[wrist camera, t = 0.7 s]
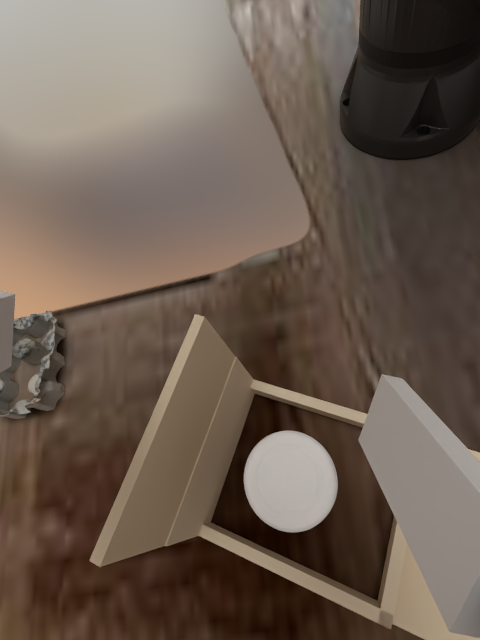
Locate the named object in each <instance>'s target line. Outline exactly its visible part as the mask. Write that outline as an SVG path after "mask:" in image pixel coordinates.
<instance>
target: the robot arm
mask: <svg viewBox="0 0 480 640" xmlns="http://www.w3.org/2000/svg"><path fill="white" fill-rule="evenodd" d="M479 118H480V0H361V1H360V26H359V44H358V48H357V51H356V54H355V57H354V60H353V63H352V66H351V68H350V71H349V74H348V77H347V80H346V83H345V86H344V88H343V91H342V95H341V100H340V125H341V128H342V131H343V133H344V135H345V136H346V138H347V139H348V140H349V141H350V142H351V143H352V144H353V145H355V146H356V147H358V148H359V149H361V150H363V151H365V152H367V153H370V154H373V155H376V156H380V157H386V158H394V159H408V158H418V157H423V156H428V155H432V154H435V153H438V152H441V151H443V150H445V149H448V148H450V147H452V146H453V145H455V144H457V143H458V142H460V141H461V140H462V139H464V138H465V137H466V136H467V135H468V134H469V133H470V132H471V131H472V130H473V129H474V127H475V126H476V124H477V123H478V121H479ZM14 306H15V294H13V293H8V292H4V291H0V373H1V372H3V371H4V370H6V369H8V368H9V367H11V364H12V344H13V325H14ZM359 443H360V445H361V447H362V449H363V451H364V453H365V455H366V457H367V459H368V462H369V464H370V466H371V468H372V470H373V472H374V474H375V476H376V478H377V481H378V483H379V485H380V487H381V489H382V491H383V493H384V495H385V497H386V499H387V502H388V504H389V506H390V508H391V510H392V512H393V514H394V516H395V518H396V521H397V523H398V525H399V527H400V529H401V531H402V533H403V535H404V537H405V540H406V542H407V544H408V546H409V548H410V550H411V552H412V554H413V556H414V558H415V561H416V563H417V565H418V567H419V569H420V571H421V573H422V575H423V577H424V580H425V582H426V584H427V586H428V588H429V590H430V592H431V594H432V596H433V599H434V601H435V603H436V605H437V607H438V609H439V611H440V613H441V615H442V618H443V620H444V622H445V624H446V626H447V628H448V630H449V632H452V633H457V634H462V635H467V636H472V637H477V638H480V461H478V459H477V458H476V457H475V456H474V455H473V454H472V453H471V452H470V451H469V450H468V449H467V448H466V447H465V445H464V444H463V443H462V442H461V441H460V440H459V439H458V438H457V437H456V436H455V435H454V434H453V433H452V431H451V430H450V429H449V428H448V427H447V426H446V425H445V424H444V423H443V422H442V421H441V420H440V419H439V417H438V416H437V415H436V414H435V413H434V412H433V411H432V410H431V409H430V408H429V407H428V406H427V405H426V403H425V402H424V401H423V400H422V399H421V398H420V397H419V396H418V395H417V394H416V393H415V392H414V391H413V389H412V388H411V387H410V386H409V385H408V384H407V383H406V382H405V381H404V380H403V379H402V378H397V377H392V376H388V375H383V374H382V375H381V378H380V380H379V383H378V386H377V389H376V392H375V395H374V397H373V400H372V403H371V406H370V409H369V412H368V414H367V417H366V420H365V423H364V426H363V429H362V431H361V434H360V437H359Z"/></svg>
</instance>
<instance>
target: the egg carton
mask: <svg viewBox="0 0 480 640" xmlns="http://www.w3.org/2000/svg"><path fill="white" fill-rule="evenodd" d="M55 322H56V318H54V317H53V316H52V311H46V313H45V314H40V315H37V314H31V315H30V316H29V317H21V318H18V319H14V325H13V344H12V364H11V367H9V368H8V369H6V370H4V371H3V372H1V373H0V416H4V417H8V418H13V419H21V418H25V417H26V415H27V413H30V412H31V411H30V408H37V409H40V410H45V411H50V410H53V409H55V406H56V403H57V401H58V400H59V399H60V398H61V397H62V396H63V395H64V393H65V386H64V385H62V383H57V381H56V374H57V372H58V371H59V369H60V368H61V367H62V366H64V365H65V360H64V356H62V355H61V354H60V353H57V349H56V348H57V345H58V343H59V342H60V341H61V340H62V339H63V338H65V335H66V331H65V329H63V328H60V327H58V325H57V323H55ZM49 325H53V329H50V331H49V333H47V334H46V335H45V338H44V339H43V340H42V341H41V344H40V343H38V342H36V341H34V340H32V339H22V337H23V334H24V333H27V334H29V335H31V336H33V337H35V338H39V337H41V336H43V335H44V334H45V333H46V332H47V330H48V327H49ZM48 350H49V351H51V353H50V354H48ZM47 354H48V355H47ZM21 360H23V361H26V362H28V363H31V364H33V365H38V364H40V363H42V365H41V367H40V370H39V372H38V373H37V374H36V375H34V376H33V377H32V378H31V379H30V381H29V384H28V390H29V392H30V393H32V394H34V399H33V400H32V401H31V400H25V399H24V400H20V401H19V402H17V403H16V404H15V405H14V407H13V408H11V410H10V411H8V405H9V402H11V401H13V400H14V399H15V398H16V396H17V395H18V392H19V385H18V384H17V383H16V382H14V381H11V373H12V372H14V371H15V370H16V369H17V368H18V367H19V366H20V363H21Z"/></svg>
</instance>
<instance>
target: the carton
mask: <svg viewBox="0 0 480 640" xmlns="http://www.w3.org/2000/svg"><path fill="white" fill-rule="evenodd" d="M255 394H258V395H261V396H264V397H267V398H270V399H274V400H277V401H280V402H283V403H286V404H289V405H292V406H296V407H299V408H302V409H305V410H308V411H311V412H314V413H318V414H321V415H324V416H327V417H330V418H333V419H337V420H340V421H343V422H346V423H349V424H352V425H355V426H359V427H362V428H363V426H364V423H365V420H366V417H367V414H365V413H362V412H359V411H356V410H352V409H349V408H346V407H342V406H339V405H336V404H333V403H329V402H326V401H323V400H319V399H316V398H313V397H310V396H306V395H303V394H300V393H296V392H293V391H290V390H286V389H283V388H280V387H277V386H273V385H270V384H267V383H263V382H260V381H257V380H254V379H253V378H252V377H251V376H250V374H249V373H248V372H247V370H246V369H245V368H244V366H243V365H242V364H241V362H240V361H239V360H238V358H237V357H235V356H234V354H233V353H232V352H231V351H230V349H229V348H228V347H227V345H226V344H225V343H224V341H223V340H222V339H221V337H220V336H219V335H218V333H217V332H216V331H215V330H214V328H213V327H212V326H211V324H210V323H209V322H208V320H207V319H206V318H205V317H204V316H200V315H196V314H195V316H194V318H193V321H192V323H191V325H190V328H189V330H188V332H187V335H186V337H185V339H184V342H183V344H182V346H181V349H180V351H179V353H178V356H177V358H176V360H175V363H174V365H173V367H172V369H171V372H170V374H169V376H168V379H167V381H166V383H165V386H164V388H163V390H162V393H161V395H160V397H159V400H158V402H157V404H156V407H155V409H154V411H153V414H152V416H151V418H150V421H149V423H148V425H147V428H146V430H145V432H144V435H143V437H142V439H141V442H140V444H139V446H138V449H137V451H136V453H135V456H134V458H133V460H132V463H131V465H130V467H129V470H128V472H127V474H126V477H125V479H124V481H123V483H122V486H121V488H120V490H119V493H118V495H117V497H116V500H115V502H114V504H113V507H112V509H111V511H110V514H109V516H108V518H107V521H106V523H105V525H104V528H103V530H102V532H101V535H100V537H99V539H98V542H97V544H96V546H95V549H94V551H93V553H92V556H91V558H90V560H89V561H90V562H92V563H94V564H95V565H97V566H99V567H101V566H104V565H107V564H110V563H113V562H116V561H119V560H123V559H126V558H129V557H132V556H135V555H138V554H141V553H144V552H147V551H150V550H153V549H156V548H159V547H162V546H169V545H172V544H175V543H178V542H181V541H184V540H187V539H190V538H193V537H196V536H200V537H202V538H205V539H207V540H209V541H211V542H213V543H215V544H217V545H219V546H221V547H223V548H225V549H227V550H229V551H231V552H233V553H235V554H237V555H239V556H241V557H243V558H245V559H247V560H249V561H251V562H254V563H256V564H258V565H260V566H262V567H264V568H266V569H268V570H270V571H272V572H274V573H276V574H278V575H280V576H282V577H284V578H286V579H288V580H290V581H292V582H294V583H296V584H298V585H301V586H303V587H305V588H307V589H309V590H311V591H313V592H315V593H317V594H319V595H321V596H323V597H325V598H327V599H329V600H331V601H333V602H335V603H337V604H339V605H341V606H343V607H345V608H348V609H350V610H352V611H354V612H356V613H358V614H360V615H362V616H364V617H366V618H368V619H370V620H372V621H374V622H376V623H378V624H380V625H382V626H384V627H386V628H388V629H390V630H391V627H392V624H394V625H396V626H398V627H400V628H402V629H404V630H406V631H408V632H410V633H412V634H414V635H416V636H418V637H421V638H423V639H425V640H480V638H477V637H472V636H467V635H462V634H457V633H452V632H449V630H448V628H447V626H446V624H445V622H444V620H443V618H442V615H441V613H440V611H439V609H438V607H437V605H436V603H435V601H434V599H433V596H432V594H431V592H430V590H429V588H428V586H427V584H426V582H425V580H424V577H423V575H422V573H421V571H420V569H419V567H418V565H417V563H416V561H415V558H414V556H413V554H412V552H411V550H410V548H409V546H408V544H407V542H406V540H405V537H404V535H403V533H402V531H401V529H400V527H399V525H398V523H397V521H396V518H395V516H394V518H393V524H392V529H391V534H390V539H389V544H388V549H387V554H386V559H385V565H384V570H383V575H382V580H381V585H380V590H379V595H378V600H375V599H373V598H371V597H369V596H366V595H364V594H362V593H360V592H358V591H356V590H354V589H352V588H349V587H347V586H345V585H343V584H341V583H339V582H337V581H335V580H332V579H330V578H328V577H326V576H324V575H322V574H320V573H317V572H315V571H313V570H311V569H309V568H307V567H305V566H303V565H300V564H298V563H296V562H294V561H292V560H290V559H288V558H285V557H283V556H281V555H279V554H277V553H275V552H273V551H271V550H268V549H266V548H264V547H262V546H260V545H258V544H256V543H254V542H251V541H249V540H247V539H245V538H243V537H241V536H239V535H236V534H234V533H232V532H230V531H228V530H226V529H224V528H222V527H219V526H217V525H215V524H213V523H211V520H212V517H213V514H214V511H215V508H216V505H217V502H218V499H219V496H220V493H221V491H222V488H223V485H224V482H225V479H226V476H227V473H228V470H229V467H230V464H231V462H232V459H233V456H234V453H235V450H236V447H237V444H238V441H239V438H240V435H241V432H242V430H243V427H244V424H245V421H246V418H247V415H248V412H249V409H250V406H251V403H252V401H253V398H254V395H255ZM468 450H469V449H468ZM469 451H470V452H471V453H472V454H473V455H474V456H475V457H476V458H477V459H478V461H480V453H479V452H476V451H473V450H469Z"/></svg>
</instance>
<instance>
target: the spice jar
mask: <svg viewBox="0 0 480 640" xmlns="http://www.w3.org/2000/svg"><path fill="white" fill-rule="evenodd" d="M244 488H245V493H246V496H247V499H248V501H249V504H250V506H251V507H252V509H253V510H254V512H255V513H256V515H257V516H258V517H259V518H260V519H261V520H262V521H264V522H265V523H266V524H268V525H269V526H271V527H273V528H275V529H277V530H280V531H284V532H293V533H295V532H302V531H306V530H309V529H311V528H313V527H315V526H316V525H318V524H319V523H320V522H322V521H323V520H324V518H325V517H326V516H327V515H328V514H329V512H330V511H331V509H332V507H333V505H334V503H335V500H336V496H337V491H338V478H337V472H336V468H335V465H334V463H333V460H332V459H331V457H330V455H329V454H328V452H327V451H326V450H325V448H324V447H323V446H322V445H321V444H320V443H319V442H318V441H316V440H315V439H314V438H312V437H310V436H308V435H306V434H304V433H301V432H297V431H280V432H276V433H273V434H270V435H268V436H267V437H265V438H264V439H262V440H261V441H260V442H259V443H258V444H257V445H256V446H255V447H254V448H253V450H252V451H251V453H250V455H249V457H248V459H247V462H246V465H245V470H244Z"/></svg>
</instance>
